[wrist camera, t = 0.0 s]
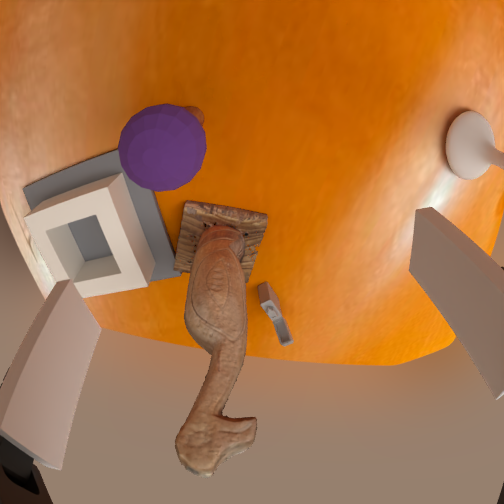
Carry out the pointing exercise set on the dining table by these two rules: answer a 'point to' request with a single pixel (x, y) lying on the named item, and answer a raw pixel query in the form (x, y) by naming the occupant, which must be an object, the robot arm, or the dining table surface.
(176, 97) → the dining table surface
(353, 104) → the dining table surface
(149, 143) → the kendama
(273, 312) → the lighter
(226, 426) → the bird sculpture
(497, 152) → the flower in vase
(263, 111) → the dining table surface
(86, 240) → the socket
